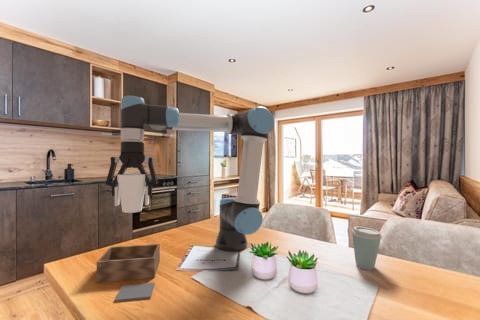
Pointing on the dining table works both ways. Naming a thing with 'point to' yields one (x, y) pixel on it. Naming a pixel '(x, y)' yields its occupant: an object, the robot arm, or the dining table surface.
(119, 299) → the mat
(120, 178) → the foam cup
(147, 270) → the crate
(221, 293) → the dining table surface
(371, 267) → the disposable coffee cup
